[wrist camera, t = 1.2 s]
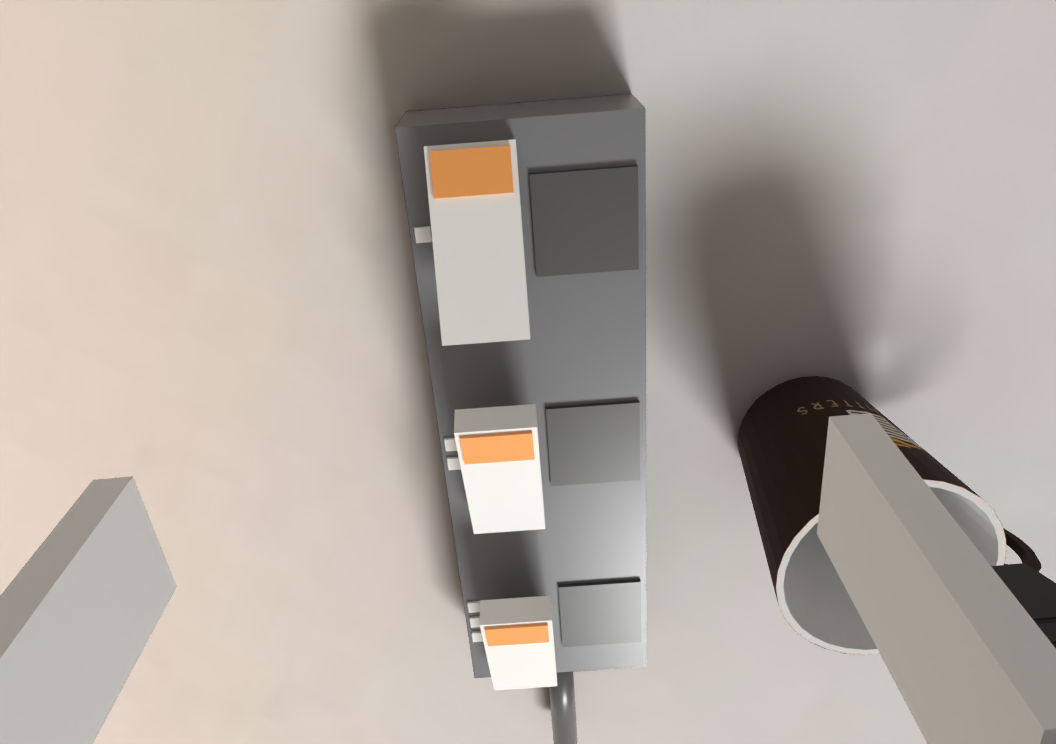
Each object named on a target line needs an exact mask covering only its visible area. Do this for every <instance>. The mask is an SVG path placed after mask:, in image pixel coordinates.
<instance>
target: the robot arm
mask: <svg viewBox="0 0 1056 744" xmlns="http://www.w3.org/2000/svg"><path fill="white" fill-rule="evenodd" d="M817 535H818V537H819V539H820V541H821V543H822V544H823V546H824V548H825V550H826V552H827V554H828V556H829V558H830V560H831V562H832V563H833V565H834V567H835V569H836V571H837V573H838V575H839V577H840V579H841V581H842V582H843V584H844V586H845V588H846V590H847V592H848V594H849V596H850V598H851V599H852V601H853V603H854V605H855V607H856V609H857V611H858V613H859V615H860V617H861V618H862V620H863V622H864V624H865V626H866V628H867V630H868V632H869V634H870V636H871V637H872V639H873V641H874V643H875V645H876V647H877V649H878V651H879V653H880V655H881V656H882V658H883V660H884V662H885V664H886V666H887V668H888V670H889V672H890V674H891V675H892V677H893V679H894V681H895V683H896V685H897V687H898V689H899V691H900V692H901V694H902V696H903V698H904V700H905V702H906V704H907V706H908V708H909V710H910V711H911V713H912V715H913V717H914V719H915V721H916V723H917V725H918V727H919V729H920V730H921V732H922V734H923V736H924V738H925V740H926V742H927V744H1056V583H1054V582H1053V581H1051V580H1050V579H1048V578H1047V577H1045V576H1044V575H1042V574H1041V573H1039V572H1038V571H1036V570H1035V569H1033V568H1032V567H1030V566H1029V565H1027V564H1026V563H1023V564H1010V565H998V566H990V564H989V563H988V562H987V560H986V559H985V558H984V557H983V555H982V554H981V553H980V552H979V550H978V549H977V548H976V546H975V545H974V544H973V543H972V541H971V540H970V539H969V538H968V536H967V535H966V534H965V532H964V531H963V530H962V529H961V527H960V526H959V525H958V523H957V522H956V521H955V520H954V518H953V517H952V516H951V515H950V513H949V512H948V511H947V509H946V508H945V507H944V506H943V504H942V503H941V502H940V501H939V499H938V498H937V497H936V495H935V494H934V493H933V492H932V490H931V489H930V488H929V487H928V485H927V484H926V483H925V481H924V480H923V479H922V478H921V476H920V475H919V474H918V473H917V471H916V470H915V469H914V467H913V466H912V465H911V464H910V462H909V461H908V460H907V458H906V457H905V456H904V455H903V453H902V452H901V451H900V450H899V448H898V447H897V446H896V444H895V443H894V442H893V441H892V439H891V438H890V437H889V436H888V434H887V433H886V432H885V430H884V429H883V428H882V427H881V425H880V424H879V423H878V422H877V420H876V419H875V418H874V416H873V415H872V414H871V413H866V414H855V415H843V416H832V417H829V422H828V432H827V441H826V451H825V461H824V470H823V480H822V490H821V499H820V509H819V519H818V528H817ZM176 587H177V586H176V584H175V581H174V579H173V576H172V574H171V571H170V569H169V566H168V564H167V561H166V558H165V556H164V553H163V551H162V548H161V546H160V543H159V541H158V538H157V536H156V533H155V531H154V528H153V526H152V523H151V521H150V518H149V516H148V513H147V511H146V508H145V506H144V503H143V501H142V498H141V496H140V493H139V491H138V488H137V486H136V483H135V481H134V478H133V477H122V478H111V479H99V480H93V481H92V482H91V483H90V485H89V486H88V487H87V488H86V490H85V491H84V492H83V493H82V495H81V496H80V497H79V498H78V500H77V501H76V502H75V503H74V505H73V506H72V507H71V508H70V510H69V511H68V512H67V513H66V515H65V516H64V517H63V518H62V520H61V521H60V522H59V523H58V525H57V526H56V527H55V528H54V529H53V531H52V532H51V533H50V534H49V536H48V537H47V538H46V539H45V541H44V542H43V543H42V544H41V546H40V547H39V548H38V549H37V551H36V552H35V553H34V554H33V556H32V557H31V558H30V559H29V561H28V562H27V563H26V564H25V566H24V567H23V568H22V569H21V571H20V572H19V573H18V574H17V576H16V577H15V578H14V579H13V581H12V582H11V583H10V584H9V586H8V587H7V588H6V589H5V591H4V592H3V593H2V594H1V596H0V744H93V742H94V740H95V738H96V737H97V735H98V733H99V731H100V729H101V727H102V725H103V723H104V722H105V720H106V718H107V716H108V714H109V712H110V710H111V708H112V707H113V705H114V703H115V701H116V699H117V697H118V695H119V693H120V692H121V690H122V688H123V686H124V684H125V682H126V680H127V678H128V677H129V675H130V673H131V671H132V669H133V667H134V665H135V663H136V662H137V660H138V658H139V656H140V654H141V652H142V650H143V648H144V647H145V645H146V643H147V641H148V639H149V637H150V635H151V633H152V632H153V630H154V628H155V626H156V624H157V622H158V620H159V618H160V617H161V615H162V613H163V611H164V609H165V607H166V605H167V603H168V602H169V600H170V598H171V596H172V594H173V592H174V590H175V588H176Z"/></svg>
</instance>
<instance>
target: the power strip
mask: <svg viewBox="0 0 1056 744" xmlns="http://www.w3.org/2000/svg"><path fill="white" fill-rule="evenodd" d="M395 132H396V139H397V146H398V153H399V160H400V167H401V174H402V181H403V188H404V194H405V201H406V208H407V215H408V222H409V229H410V236H411V243H412V250H413V257H414V264H415V270H416V277H417V284H418V291H419V298H420V305H421V312H422V319H423V326H424V333H425V339H426V346H427V353H428V360H429V367H430V374H431V381H432V388H433V395H434V402H435V409H436V415H437V422H438V429H439V436H440V443H441V450H442V457H443V464H444V471H445V478H446V484H447V491H448V498H449V505H450V512H451V519H452V526H453V533H454V540H455V547H456V554H457V560H458V567H459V574H460V581H461V588H462V595H463V602H464V609H465V616H466V623H467V629H468V636H469V643H470V650H471V657H472V664H473V671H474V678H484V677H491V674H490V669H489V665H488V660H487V656H486V651H485V647H484V642H483V638H482V633H481V629H480V600H493V599H508V598H522V597H537V596H550V598H551V610H552V622H553V635H554V647H555V659H556V673H557V686H553V687H549V692H550V704H551V716H552V728H553V740H554V744H577V727H576V712H575V696H574V680H573V671H588V670H603V669H618V668H632V667H647V642H646V190H645V107H644V106H643V105H642V104H641V103H640V102H639V101H638V100H637V99H636V98H635V97H634V96H633V95H632V94H625V95H612V96H599V97H586V98H573V99H560V100H548V101H535V102H522V103H509V104H496V105H483V106H470V107H457V108H445V109H432V110H419V111H406V112H405V114H404V115H403V117H402V118H401V120H400V121H399V122H398V124H397V125H396V127H395ZM513 139H516V149H517V162H518V176H519V189H520V203H521V216H522V230H523V243H524V257H525V270H526V284H527V297H528V311H529V324H530V339H529V340H515V341H502V342H488V343H474V344H461V345H447V346H442V339H441V329H440V318H439V307H438V296H437V285H436V275H435V264H434V253H433V242H432V231H431V221H430V210H429V199H428V188H427V178H426V167H425V156H424V146H435V145H448V144H461V143H474V142H487V141H500V140H513ZM528 404H536V415H537V428H538V440H539V452H540V465H541V477H542V490H543V502H544V516H545V529H539V530H524V531H510V532H496V533H482V534H474V532H473V527H472V522H471V517H470V512H469V507H468V502H467V497H466V492H465V487H464V482H463V477H462V472H461V466H460V461H459V456H458V451H457V446H456V441H455V436H454V413H455V410H458V409H472V408H486V407H500V406H514V405H528Z"/></svg>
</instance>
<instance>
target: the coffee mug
mask: <svg viewBox="0 0 1056 744" xmlns="http://www.w3.org/2000/svg"><path fill="white" fill-rule="evenodd" d="M866 413H871V414H872V415H873V416H874V418H875V419H876V420H877V422H878V423H879V424H880V425H881V427H882V428H883V429H884V430H885V432H886V433H887V434H888V436H889V437H890V438H891V439H892V441H893V442H894V443H895V444H896V446H897V447H898V448H899V450H900V451H901V452H902V453H903V455H904V456H905V457H906V458H907V460H908V461H909V462H910V464H911V465H912V466H913V467H914V469H915V470H916V471H917V473H918V474H919V475H920V476H921V478H922V479H923V480H924V481H925V483H926V484H927V485H928V487H929V488H930V489H931V490H932V492H933V493H934V494H935V495H936V497H937V498H938V499H939V501H940V502H941V503H942V504H943V506H944V507H945V508H946V509H947V511H948V512H949V513H950V515H951V516H952V517H953V518H954V520H955V521H956V522H957V523H958V525H959V526H960V527H961V529H962V530H963V531H964V532H965V534H966V535H967V536H968V538H969V539H970V540H971V541H972V543H973V544H974V545H975V546H976V548H977V549H978V550H979V552H980V553H981V554H982V555H983V557H984V558H985V559H986V560H987V562H988V563H989V564H990V566H998V565H1008V564H1004V562H1005V559H1006V544H1007V545H1008V546H1009V547H1010V548H1011V549H1013V550H1014V551H1015V552H1016V553H1017V554H1018V556H1019V557H1020V558H1021V560H1022V563H1026V564H1027V565H1029V566H1030V567H1032V568H1033V569H1035V570H1036V571H1038V572H1039V570H1040V569H1041V563H1040V561H1039V560H1038V558H1037V556H1036V555H1035V553H1034V552H1033V550H1032V549H1031V548H1030V547H1029V546H1028V545H1027V544H1025V543H1024V542H1023V541H1022V540H1021V539H1019V538H1018V537H1016V536H1015V535H1013V534H1012V533H1010V532H1009V531H1007V530H1005V529H1004V528H1003V525H1002V523H1001V521H1000V520H999V518H998V516H997V515H996V513H995V511H994V510H993V509H992V508H991V507H990V506H989V505H988V504H987V503H986V502H985V501H984V500H983V499H982V498H981V497H980V496H978V495H977V494H976V493H975V492H974V491H972V490H971V489H970V488H969V487H968V486H967V485H965V484H964V483H963V482H962V481H961V480H959V479H958V478H957V477H956V476H955V475H954V474H952V473H951V472H950V471H949V470H948V469H946V468H945V467H944V466H943V465H942V464H940V463H939V462H938V461H937V460H936V459H935V458H933V457H932V456H931V455H930V454H929V453H927V452H926V451H925V450H924V449H923V448H922V447H920V446H919V445H918V444H917V443H916V442H914V441H913V440H912V439H911V438H910V437H909V436H907V435H906V434H905V433H904V432H903V431H901V430H900V429H899V428H898V427H897V426H896V425H894V424H893V423H892V422H891V421H890V420H888V419H887V418H886V417H885V416H884V415H883V414H881V413H880V412H879V411H878V410H877V409H875V408H874V407H873V406H872V405H871V404H870V403H868V402H867V401H866V400H865V399H864V398H862V397H861V396H860V395H859V394H858V393H857V392H855V391H854V390H853V389H852V388H851V387H849V386H847V385H846V384H844V383H842V382H840V381H837V380H834V379H831V378H826V377H817V376H813V377H801V378H797V379H793V380H789V381H787V382H784V383H782V384H779V385H777V386H775V387H774V388H772V389H770V390H769V391H767V392H766V393H764V394H763V395H762V396H761V397H760V398H759V399H758V400H756V401H755V403H754V404H753V405H752V406H751V407H750V409H749V410H748V411H747V413H746V415H745V417H744V419H743V420H742V423H741V426H740V430H739V435H738V446H739V452H740V457H741V461H742V464H743V468H744V472H745V476H746V480H747V484H748V488H749V492H750V496H751V500H752V504H753V507H754V511H755V515H756V519H757V523H758V527H759V531H760V535H761V539H762V543H763V547H764V550H765V554H766V558H767V562H768V566H769V570H770V574H771V578H772V582H773V586H774V590H775V593H776V597H777V601H778V605H779V607H780V609H781V611H782V614H783V616H784V618H785V620H786V621H787V622H788V623H789V624H790V626H791V627H792V628H793V629H794V630H795V631H796V632H797V633H798V634H800V635H801V636H802V637H804V638H805V639H806V640H808V641H809V642H811V643H814V644H816V645H818V646H820V647H822V648H825V649H828V650H832V651H836V652H840V653H846V654H857V655H872V654H880V653H879V651H878V649H877V647H876V645H875V643H874V641H873V639H872V637H871V636H870V634H869V632H868V630H867V628H866V626H865V624H864V622H863V620H862V618H861V617H860V615H859V613H858V611H857V609H856V607H855V605H854V603H853V601H852V599H851V598H850V596H849V594H848V592H847V590H846V588H845V586H844V584H843V582H842V581H841V579H840V577H839V575H838V573H837V571H836V569H835V567H834V565H833V563H832V562H831V560H830V558H829V556H828V554H827V552H826V550H825V548H824V546H823V544H822V543H821V541H820V539H819V537H818V535H817V528H818V519H819V509H820V499H821V490H822V480H823V470H824V461H825V451H826V441H827V432H828V422H829V417H832V416H843V415H855V414H866Z"/></svg>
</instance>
